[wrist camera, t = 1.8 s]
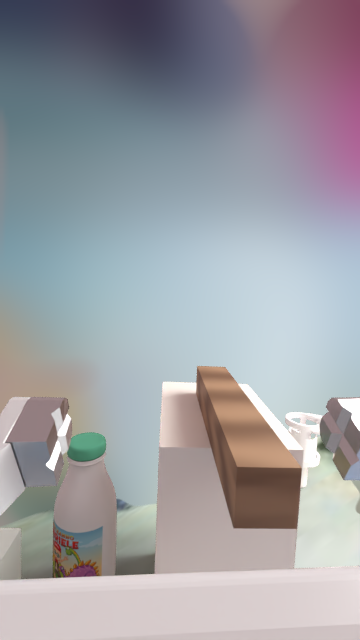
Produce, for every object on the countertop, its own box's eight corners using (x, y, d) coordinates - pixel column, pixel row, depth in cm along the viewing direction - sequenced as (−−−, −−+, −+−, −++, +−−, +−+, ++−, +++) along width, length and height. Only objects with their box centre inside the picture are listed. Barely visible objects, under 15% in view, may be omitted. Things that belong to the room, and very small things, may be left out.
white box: (281, 723, 28) (303, 449, 25) (148, 726, 27) (159, 447, 25) (236, 553, 45) (247, 384, 43) (156, 553, 45) (162, 381, 43)
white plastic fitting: (318, 497, 59) (324, 423, 58) (280, 488, 61) (285, 416, 60) (316, 477, 65) (321, 410, 64) (281, 469, 68) (286, 404, 67)
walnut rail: (296, 528, 17) (301, 468, 16) (233, 528, 16) (237, 466, 16) (223, 394, 38) (224, 366, 38) (195, 393, 38) (197, 366, 38)
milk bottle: (84, 552, 45) (85, 421, 43) (127, 576, 41) (130, 434, 39) (38, 599, 38) (38, 444, 36) (85, 632, 34) (88, 463, 32)
